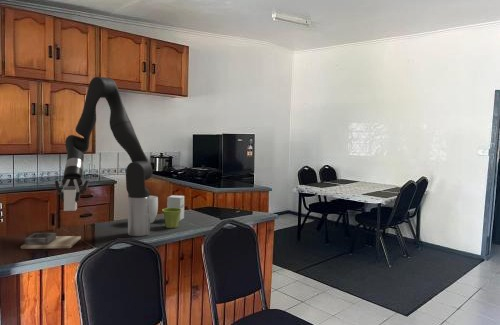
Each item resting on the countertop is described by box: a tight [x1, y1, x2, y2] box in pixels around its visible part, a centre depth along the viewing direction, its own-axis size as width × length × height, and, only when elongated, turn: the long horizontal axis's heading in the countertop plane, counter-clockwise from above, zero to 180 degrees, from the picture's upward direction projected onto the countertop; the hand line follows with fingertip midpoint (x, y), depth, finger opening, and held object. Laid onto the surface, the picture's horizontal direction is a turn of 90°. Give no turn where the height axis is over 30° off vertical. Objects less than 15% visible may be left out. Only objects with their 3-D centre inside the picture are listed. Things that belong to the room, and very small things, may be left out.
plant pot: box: [161, 207, 182, 229], centre depth 187 cm, size 9×9×9 cm
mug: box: [149, 195, 159, 224], centre depth 193 cm, size 15×11×13 cm
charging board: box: [20, 232, 82, 250], centre depth 154 cm, size 18×14×4 cm
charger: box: [63, 186, 78, 212], centre depth 163 cm, size 4×4×10 cm
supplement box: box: [166, 194, 185, 222], centre depth 203 cm, size 7×7×13 cm
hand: (69, 201), depth 161 cm, fingers closed on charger, 4 cm apart
